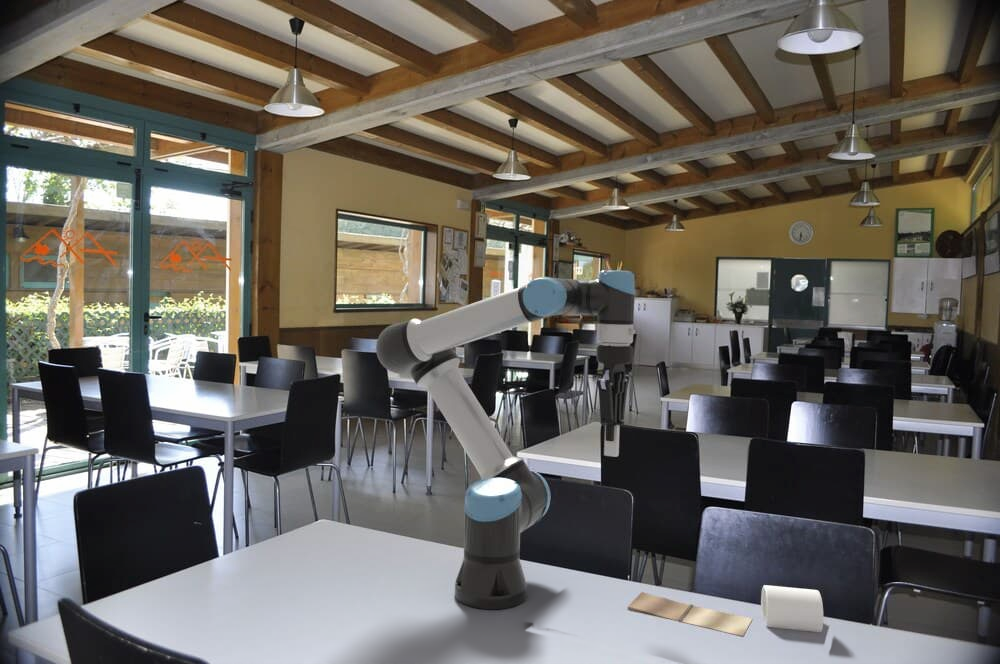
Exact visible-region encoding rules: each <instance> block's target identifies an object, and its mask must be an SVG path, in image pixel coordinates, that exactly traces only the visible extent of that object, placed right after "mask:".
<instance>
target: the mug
mask: <svg viewBox="0 0 1000 664" xmlns="http://www.w3.org/2000/svg"><path fill="white" fill-rule="evenodd" d="M760 596H761V597H760V611H761V613H760V615H761V616H762V617H766V618H765V624H764V626H765V627H767V628H774V629H784V630H785V629H786V630H793V631H803V632H812V633H822V631H823V628H824V606H823V604H824V603H823V598H822V595H821V593H820V591H819V590H818V589H809V588H798V587H788V586H779V585H767V584H766V585H765V584H763V586H762V589H761V595H760Z"/></svg>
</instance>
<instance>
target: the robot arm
mask: <svg viewBox="0 0 1000 664" xmlns="http://www.w3.org/2000/svg"><path fill="white" fill-rule="evenodd" d="M635 282H636V281H635V275H634V273H633V271H629V270H616V269H615V270H601V271H599V273H598V278H597V279H573V278H572V279H570V278H556V277H552V276H549V277H548V276H541V277H537V278H534V279H532V280H531V281H529V282H528V283H527V284H525V285H522V286H520V287H517V288H513V289H510V290H507V291H505V292H502V293H498V294H496V295H493V296H490V297H488V298H485V299H482V300H479V301H475V302H473V303H470V304H467V305H464V306H461V307H458V308H456V309H453V310H450V311H446V312H445V313H441V314H438V315H435V316H432V317H429V318H426V319H423V320H421V319H419V318H412V319H409V320H406V321H403V322H399V323H393V324H391V325H388V326H387V327H386V328H385V329H383V330H382V331H381V332H380V334H379V336H378V338H377V341H376V345H375V351H376V356H377V359H378V360H379V362H380V364H381V366H383V368H385V369H386V370H388V371H389V372H391V373H394V374H398V375H404V374H405V375H406V374H407V375H408V374H410V376H411V378H412V379H413V381H414V383H415V384H416V386H417V388H418V387H419V388H422V389H426V390H427V392H428V393H429V395H430V396H431V397H432V399H433V402H435V404H436V406H437V408H438V410H440V413H442V415H443V417H444V418H445V420H446V422H447V423H448V425H449V427H450V428H451V430H452V433H454V436H455V437H456V438H457V440H458V442H460V445H461V446H462V448H463V449H464V452H465V453H466V455H467V456H468V458H469V460H470V461H471V462H472V464H473V466H474V467H475V469H476V471H477V472H478V474H479V476H480V479H479V480H476V481H475V482H473V483H471V484H470V485H469V486H468V487H467V488H466V491H465V499H464V502H463V509H464V520H463V521H464V524H463V527H464V531H463V534H464V535H463V536H464V537H463V559H462V562H461V564H460V568H459V571H458V573H457V577H456V578H455V579H456V580H455V582H454V597H455V598H456V600H457V601H459V602H460V603H461V604H463V605H465V606H468V607H471V608H475V609H480V610H481V609H482V610H501V609H509V608H513V607H515V606H516V607H517V606H518V605H520V604H523V603H524V602H525V601H526V599H527V597H528V583H527V580H526V577H525V573H524V570H523V566H522V564H521V560H520V553H521V549H520V548H521V547H520V546H521V533H522V532H524V531H525V530H527V529H529V528H530V527H531V526H534V525H535V524H537V523H538V522H539V521H541V519H542V518H543V517H544V516H545V515H546V513H547V511H548V509H549V507H550V504H551V497H552V496H551V491H550V490H551V489H550V487H549V484H548V482H547V481H546V479H545V478H544V476H542V475H541V474H540V473H539V472H536V471H534V470H531V469H529V466H528V465H527V464H526V462H525V460H524V459H523V458H521V457H518V456H515V455H513V454H512V452H511V451H510V449H509V447H508V446H507V445H506V442H505V441H504V439H503V438H502V437H501V435H500V432H498V431H497V428H496V427H495V425H494V424H493V422H492V421H491V419H490V418H489V416H488V414H487V413H486V411H485V409H484V408H483V406H482V405H481V403H480V402H479V401H478V399H477V397H476V395H475V394H474V393H473V391H472V389H471V388H470V386H469V384H468V383H467V381H466V380H465V378H464V377H463V375H462V373H461V371H460V370H459V367H460V362H461V360H460V358H459V356H458V355H457V350H456V347H459V346H462V345H466V344H468V343H471V342H474V341H478V340H480V339H481V340H482V339H485V338H486V337H490V336H492V335H496V334H499V333H501V332H502V333H503V332H505V331H508V330H511V329H515V328H517V327H520V326H523V325H526V324H530V323H532V322H536V321H540V320H543V319H546V318H549V317H552V316H566V315H571V316H572V315H574V316H575V315H578V316H581V315H582V316H583V315H585V316H588V315H589V316H597V323H596V342H597V343H599V344H597V346H596V358H595V359H596V362H597V363H600V364H603V368H602V373H601V378H598V379H597V380H596V381H597V382H596V385H597V388H598V397H599V398H598V400H599V417H600V422H599V423H600V425H602V426H604V444H603V445H604V447H603V456H606V457H614V458H615V457H616V458H617V457H619V454H620V425H622V426H623V425H624V424H625V421H623V420H624V419H625V412H626V403H627V395H628V393H627V392H628V386H629V382H630V375H628V374H626V367H625V366H626V365H629V364H632V363H633V360H634V359H633V357H634V356H633V355H634V347H633V346H632V345H631V344H632V343H633V342H634V335H635V334H636V329H634V324H635V323H634V320H635V319H634V318H635V317H634V316H635V302H636V301H635V300H636V299H635V298H636V290H635Z"/></svg>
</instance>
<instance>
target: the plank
mask: <svg viewBox="0 0 1000 664" xmlns="http://www.w3.org/2000/svg"><path fill="white" fill-rule="evenodd" d="M689 606H690V604H686V603H683V602H679V601H676V600H673V599H668V598H665V597H662V596H658V595H654V594H652V593H648V592H644V591H641V592H640V593H639V594H638V595H637V597H635V598H634V599H633V600H632V601H631V602H630V604H628V606H627V610H629V611H633V612H634V611H635V612H638V613H642V614H647V615H650V616H655V617H659V618H664V619H668V620H671V621H675V622H679V621H678V620H679V618H680V617H681V616H682V615H683V613H684V612H685V611H686V609H687V608H688V607H689Z"/></svg>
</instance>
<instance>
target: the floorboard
mask: <svg viewBox="0 0 1000 664" xmlns="http://www.w3.org/2000/svg"><path fill="white" fill-rule="evenodd" d="M689 605H690V606H689V607H688V608H687V609H686V611H685V612H684V613H683V615H682V616H681V617H680V618H679V620H678V621H677V622H680V623H683V624H689V625H692V626H696V627H701V628H706V629H710V630H713V631H717V632H718V631H719V632H720V633H721V632H723V633H725V634H728V635H729V634H730V635H734V636H738V637H742V638H743V637H744V636H745V634H746V633H747V632H746V631H747V630H748V628H749V626H750V625H751V622H752V621H753V619H752V618H750V617H746V616H742V615H737V614H736V615H735V614H732V613H728V612H722V611H720V610H719V611H718V610H714V609H710V608H705V607H702V606H701V607H700V606H696V605H694V604H689Z"/></svg>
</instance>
